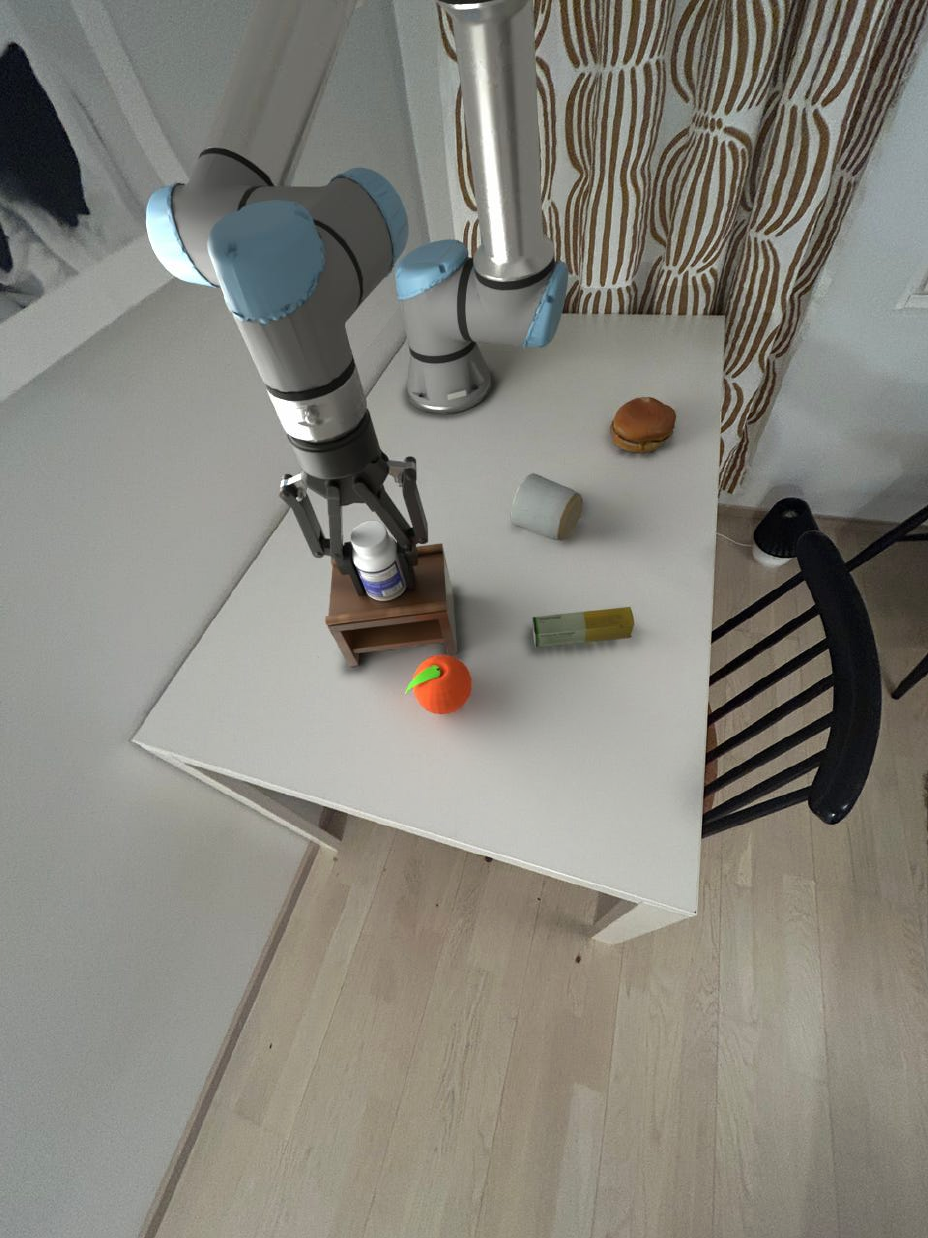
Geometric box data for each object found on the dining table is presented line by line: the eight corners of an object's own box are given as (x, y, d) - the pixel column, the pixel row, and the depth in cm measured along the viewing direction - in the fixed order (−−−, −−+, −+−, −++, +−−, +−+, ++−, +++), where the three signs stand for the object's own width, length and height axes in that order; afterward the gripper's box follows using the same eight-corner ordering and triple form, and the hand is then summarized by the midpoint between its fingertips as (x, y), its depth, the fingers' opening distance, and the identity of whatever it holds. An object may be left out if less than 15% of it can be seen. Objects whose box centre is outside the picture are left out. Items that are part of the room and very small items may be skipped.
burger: (621, 460, 91) (625, 435, 87) (602, 424, 96) (605, 399, 93) (683, 446, 91) (689, 421, 87) (661, 412, 96) (665, 386, 93)
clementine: (422, 737, 68) (410, 710, 62) (402, 690, 72) (389, 661, 66) (484, 709, 69) (478, 680, 63) (461, 664, 73) (453, 633, 67)
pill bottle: (371, 566, 72) (351, 515, 65) (412, 568, 71) (397, 516, 64) (360, 601, 69) (339, 551, 62) (403, 603, 68) (386, 553, 61)
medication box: (534, 649, 73) (533, 635, 70) (532, 630, 75) (530, 615, 71) (632, 639, 72) (635, 623, 69) (627, 620, 73) (631, 604, 70)
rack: (352, 604, 81) (330, 556, 72) (452, 592, 80) (441, 541, 72) (349, 666, 75) (324, 621, 67) (457, 653, 74) (445, 606, 66)
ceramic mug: (561, 553, 81) (563, 513, 75) (510, 534, 85) (508, 494, 78) (594, 505, 86) (598, 464, 80) (544, 489, 89) (544, 448, 83)
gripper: (217, 461, 49) (309, 618, 68) (431, 430, 48) (464, 599, 67) (232, 407, 54) (314, 569, 72) (429, 378, 52) (460, 550, 71)
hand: (386, 583), depth 70 cm, fingers closed on pill bottle, 5 cm apart
